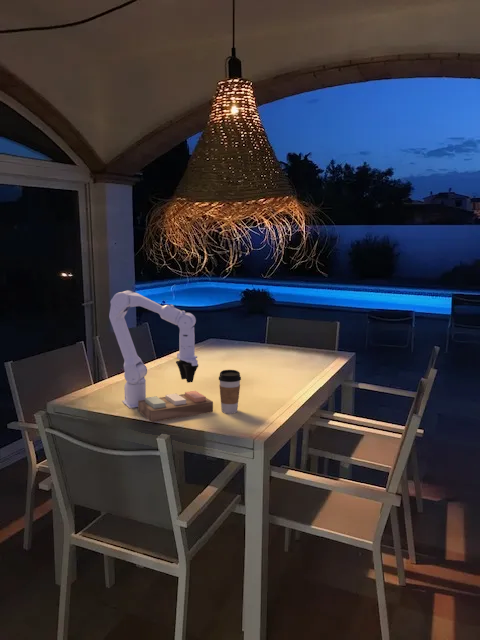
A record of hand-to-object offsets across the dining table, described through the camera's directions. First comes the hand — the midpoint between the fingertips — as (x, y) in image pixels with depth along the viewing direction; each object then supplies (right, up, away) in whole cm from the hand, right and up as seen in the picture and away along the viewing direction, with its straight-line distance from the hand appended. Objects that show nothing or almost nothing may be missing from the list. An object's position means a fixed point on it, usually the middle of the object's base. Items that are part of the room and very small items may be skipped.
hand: (187, 380), depth 203 cm
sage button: (-11, -10, -8) cm, 17 cm away
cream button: (-4, -10, -4) cm, 11 cm away
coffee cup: (+16, -11, -3) cm, 20 cm away
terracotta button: (+3, -9, 0) cm, 10 cm away
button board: (-4, -11, -4) cm, 12 cm away
